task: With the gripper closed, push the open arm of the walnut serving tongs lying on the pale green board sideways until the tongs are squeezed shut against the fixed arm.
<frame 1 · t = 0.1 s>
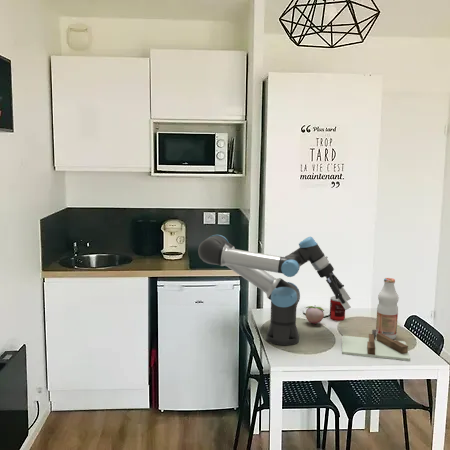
hand: (348, 304, 244), 15 cm above the table, tool tilted 35°, fingers open, 13 cm apart
tongs fixed: (373, 341, 239), resting on board
decorative fruit: (314, 324, 261), on the table
fruit juice: (385, 336, 246), on the table
board: (374, 348, 230), on the table
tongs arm: (391, 342, 230), point 3 cm above the table, hinge at 35.0°
canned food: (337, 319, 270), on the table
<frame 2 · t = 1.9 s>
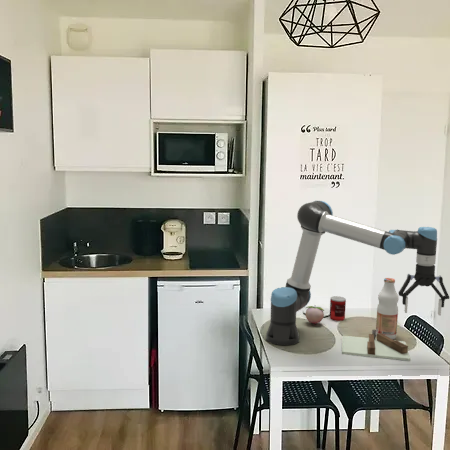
hand: (422, 313, 220), 19 cm above the table, tool pointing down, fingers open, 13 cm apart
nothing on the table moved.
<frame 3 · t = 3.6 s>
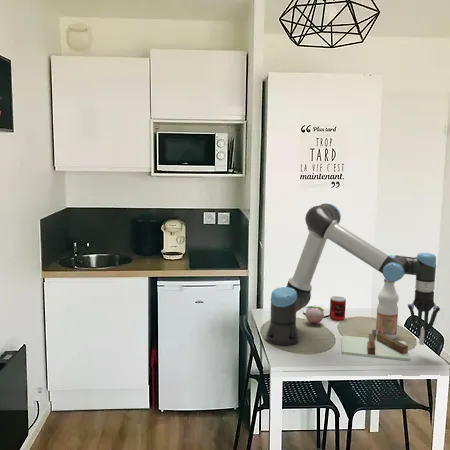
hand: (421, 343, 221), 6 cm above the table, tool pointing down, fingers closed
nothing on the table moved.
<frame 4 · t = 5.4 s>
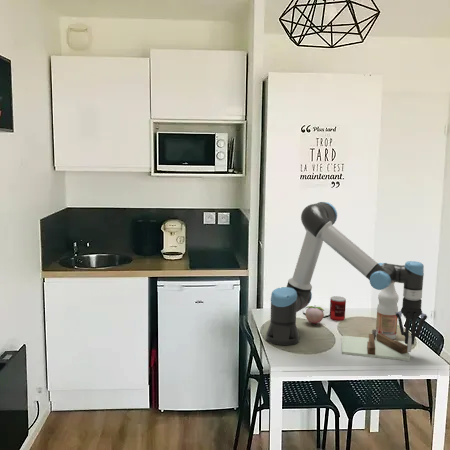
hand: (408, 350, 223), 2 cm above the table, tool pointing down, fingers closed
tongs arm: (391, 342, 230), point 3 cm above the table, hinge at 34.4°, touching gripper
everything else where it was.
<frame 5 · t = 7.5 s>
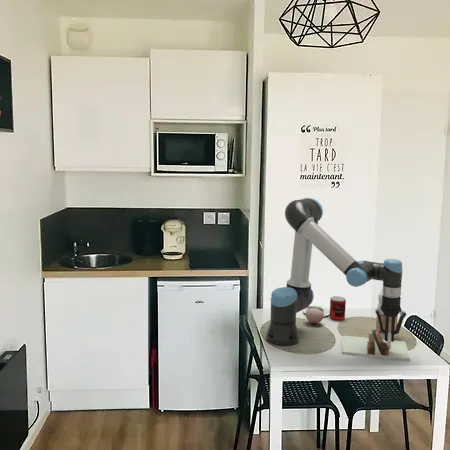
hand: (388, 348, 225), 2 cm above the table, tool pointing down, fingers closed
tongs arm: (381, 344, 228), point 3 cm above the table, hinge at 6.3°, touching gripper
everything else where it was.
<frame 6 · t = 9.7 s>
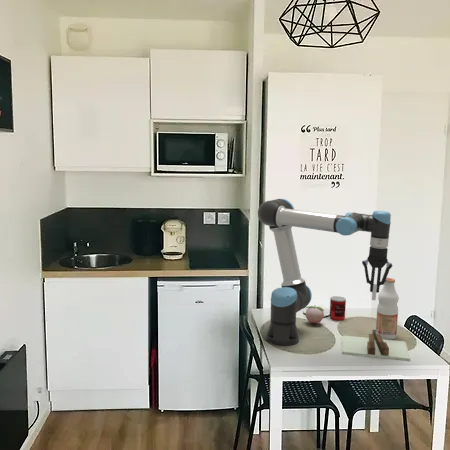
hand: (373, 299, 228), 22 cm above the table, tool pointing down, fingers closed
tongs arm: (381, 344, 228), point 3 cm above the table, hinge at 6.2°
everything else where it was.
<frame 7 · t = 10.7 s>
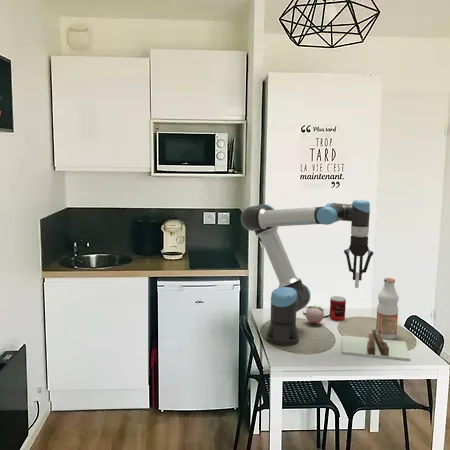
hand: (356, 287, 232), 26 cm above the table, tool pointing down, fingers closed
nothing on the table moved.
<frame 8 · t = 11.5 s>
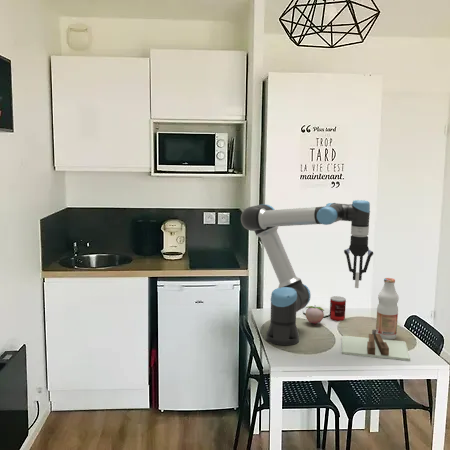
hand: (356, 287, 232), 26 cm above the table, tool pointing down, fingers closed
nothing on the table moved.
at the end: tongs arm at +6° (first picture: +35°); the gripper is holding nothing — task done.
